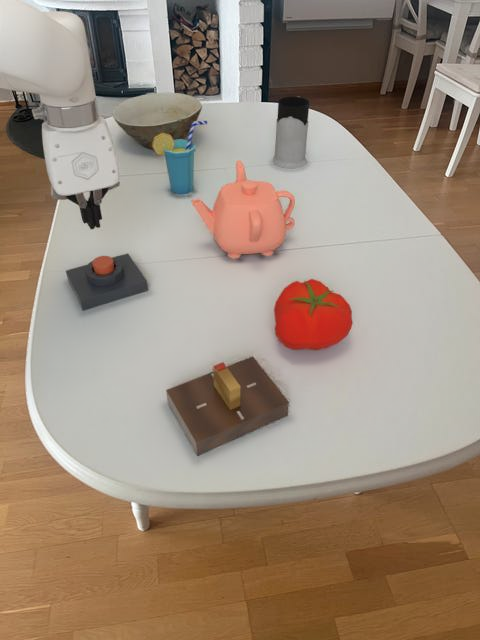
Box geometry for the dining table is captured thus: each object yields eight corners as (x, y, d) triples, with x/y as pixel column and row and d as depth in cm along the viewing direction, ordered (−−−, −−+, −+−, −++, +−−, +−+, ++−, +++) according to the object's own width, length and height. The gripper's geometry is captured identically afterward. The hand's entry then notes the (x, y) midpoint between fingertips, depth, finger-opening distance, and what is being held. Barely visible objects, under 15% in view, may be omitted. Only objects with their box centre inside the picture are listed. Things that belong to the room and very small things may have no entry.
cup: (199, 174, 129) (196, 113, 119) (218, 185, 125) (216, 123, 115) (151, 190, 123) (143, 127, 113) (169, 203, 118) (163, 138, 108)
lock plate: (197, 456, 68) (196, 441, 66) (167, 403, 75) (165, 389, 72) (287, 415, 73) (289, 401, 71) (252, 369, 80) (253, 355, 77)
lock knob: (240, 406, 70) (240, 385, 68) (230, 410, 70) (229, 389, 67) (223, 381, 74) (223, 360, 71) (213, 385, 73) (212, 364, 70)
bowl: (101, 154, 138) (94, 116, 131) (140, 122, 155) (135, 87, 148) (184, 165, 133) (181, 126, 126) (214, 131, 150) (213, 95, 143)
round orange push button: (97, 277, 91) (95, 269, 90) (91, 267, 93) (89, 258, 92) (117, 271, 92) (115, 263, 91) (110, 261, 95) (109, 253, 94)
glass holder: (269, 166, 133) (272, 106, 123) (279, 144, 143) (283, 87, 133) (303, 169, 131) (309, 109, 121) (311, 147, 142) (317, 90, 132)
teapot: (191, 249, 104) (187, 187, 95) (237, 214, 115) (238, 155, 106) (260, 276, 98) (263, 212, 89) (302, 236, 108) (308, 175, 99)
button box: (82, 310, 90) (78, 292, 87) (67, 280, 96) (63, 262, 94) (148, 290, 94) (145, 272, 91) (129, 262, 101) (126, 245, 98)
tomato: (343, 374, 79) (351, 331, 73) (262, 357, 81) (264, 315, 76) (353, 316, 89) (361, 275, 83) (281, 303, 91) (284, 262, 86)
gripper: (22, 129, 69) (53, 246, 81) (130, 112, 75) (143, 224, 87) (12, 112, 74) (42, 225, 86) (113, 97, 80) (128, 205, 92)
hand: (93, 224), depth 86 cm, fingers closed
